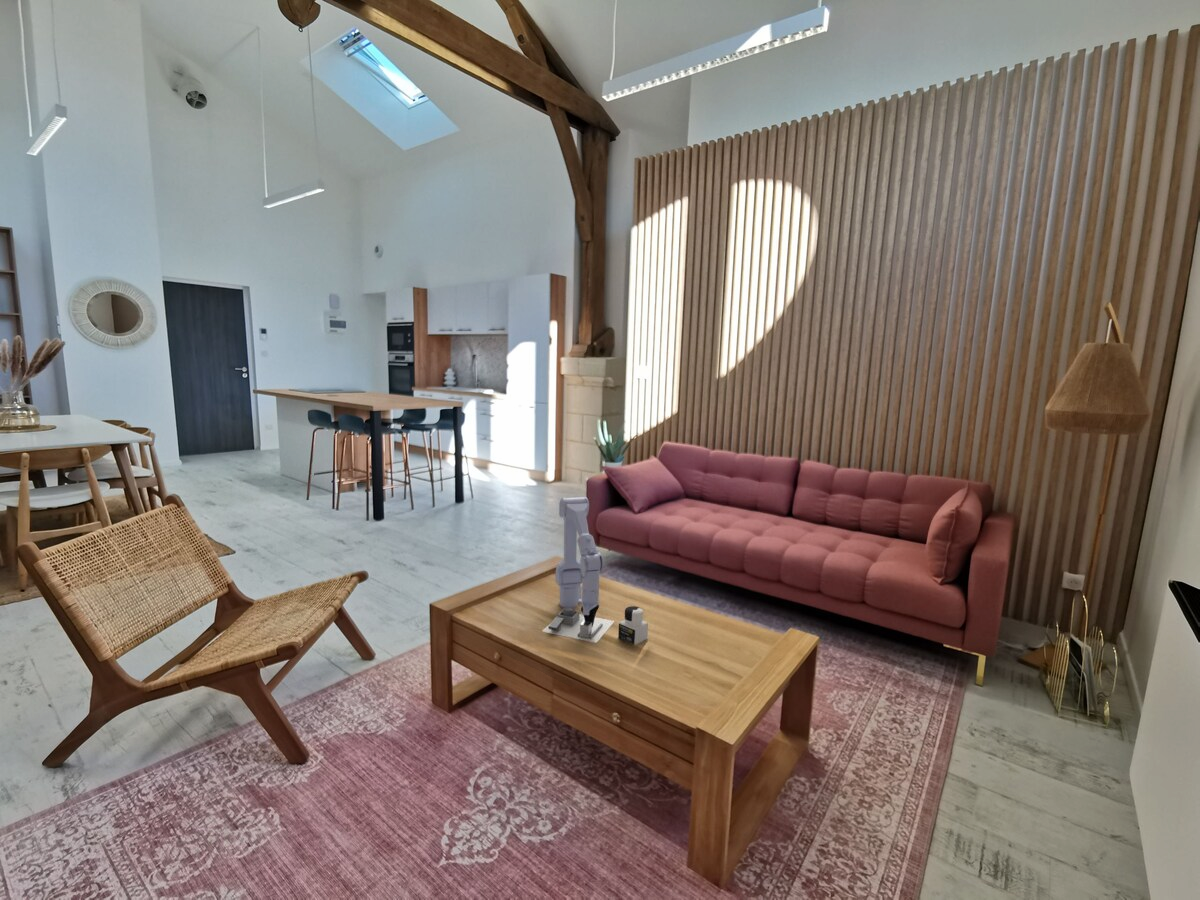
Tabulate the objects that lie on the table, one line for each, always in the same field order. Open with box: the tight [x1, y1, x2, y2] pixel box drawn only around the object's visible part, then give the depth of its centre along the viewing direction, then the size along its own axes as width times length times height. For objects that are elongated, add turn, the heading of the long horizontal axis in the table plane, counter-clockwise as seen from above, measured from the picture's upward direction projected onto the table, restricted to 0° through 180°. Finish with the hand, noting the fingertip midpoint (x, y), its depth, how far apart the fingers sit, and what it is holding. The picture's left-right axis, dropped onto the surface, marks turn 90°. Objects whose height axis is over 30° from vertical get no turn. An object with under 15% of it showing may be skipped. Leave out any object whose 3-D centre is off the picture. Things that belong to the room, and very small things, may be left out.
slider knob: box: [580, 621, 592, 637], centre depth 197 cm, size 3×3×4 cm
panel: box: [541, 609, 615, 644], centre depth 205 cm, size 18×20×4 cm
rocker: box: [547, 616, 564, 631], centre depth 201 cm, size 6×3×1 cm, turn 159°
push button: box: [562, 607, 575, 617], centre depth 208 cm, size 4×4×4 cm
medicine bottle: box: [617, 605, 649, 646], centre depth 196 cm, size 7×7×12 cm
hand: (589, 626), depth 200 cm, fingers closed
